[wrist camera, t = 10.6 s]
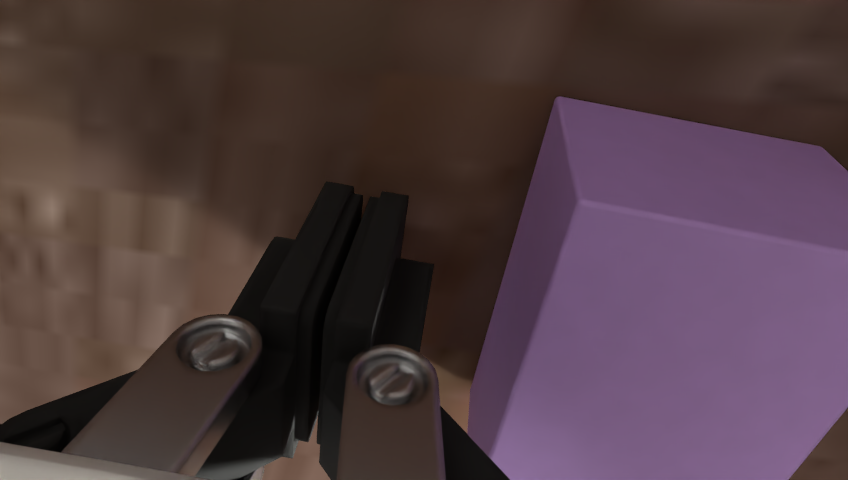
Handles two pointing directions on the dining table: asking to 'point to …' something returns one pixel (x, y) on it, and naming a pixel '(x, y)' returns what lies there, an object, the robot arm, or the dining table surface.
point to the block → (667, 305)
